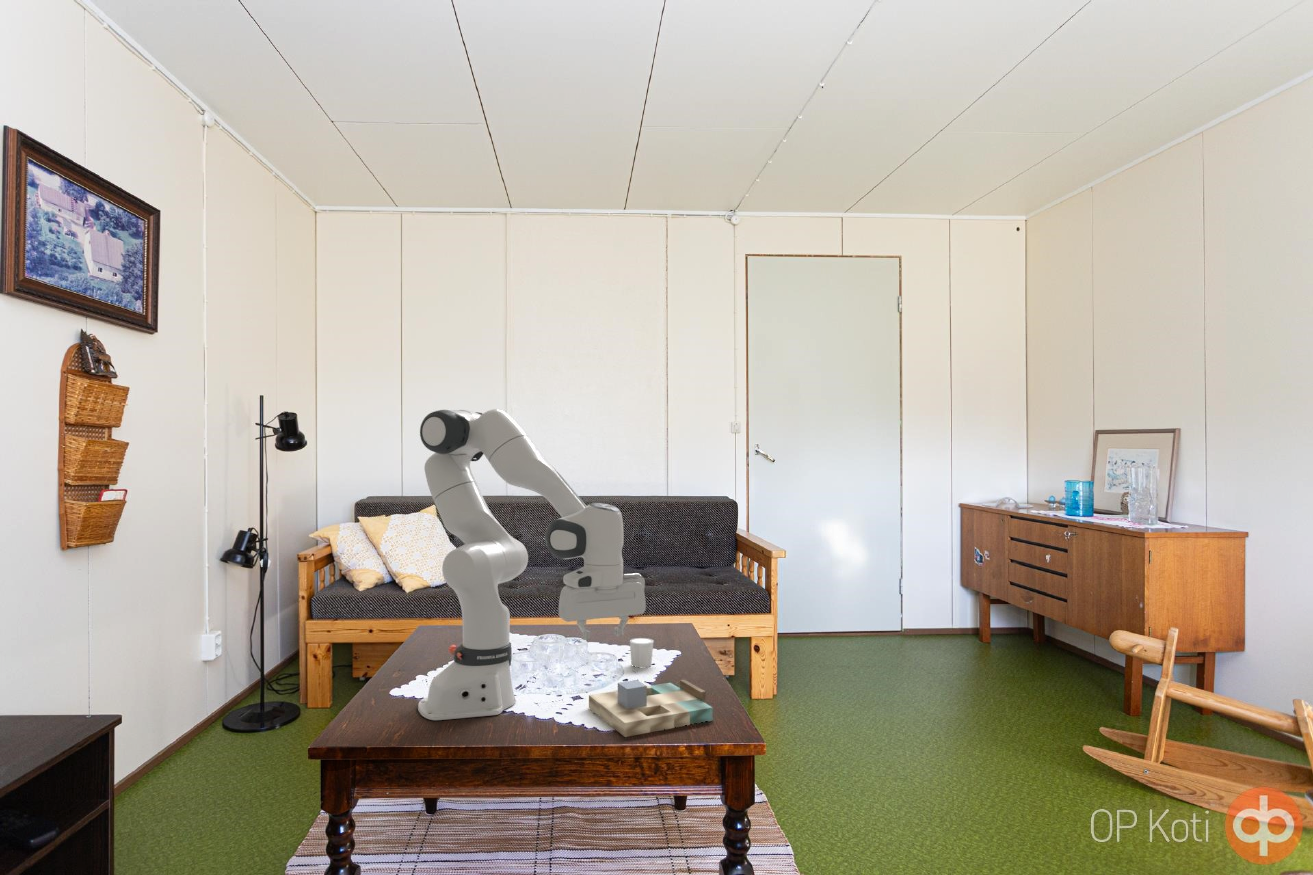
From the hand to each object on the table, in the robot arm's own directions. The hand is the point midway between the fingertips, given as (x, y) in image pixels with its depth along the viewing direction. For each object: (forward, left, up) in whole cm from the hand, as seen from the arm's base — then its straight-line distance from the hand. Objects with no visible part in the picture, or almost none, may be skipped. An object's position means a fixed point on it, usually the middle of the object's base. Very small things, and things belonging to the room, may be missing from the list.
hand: (602, 637), depth 170 cm
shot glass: (+28, +36, -19) cm, 49 cm away
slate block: (+8, 0, -16) cm, 18 cm away
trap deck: (+12, 0, -19) cm, 22 cm away
